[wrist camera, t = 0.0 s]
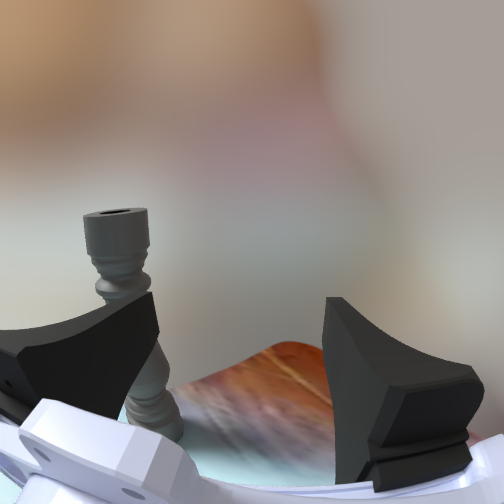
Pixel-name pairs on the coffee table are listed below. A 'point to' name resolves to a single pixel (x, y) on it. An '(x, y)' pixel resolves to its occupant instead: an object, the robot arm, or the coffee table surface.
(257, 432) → the coffee table surface
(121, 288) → the candle holder
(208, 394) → the coffee table surface
